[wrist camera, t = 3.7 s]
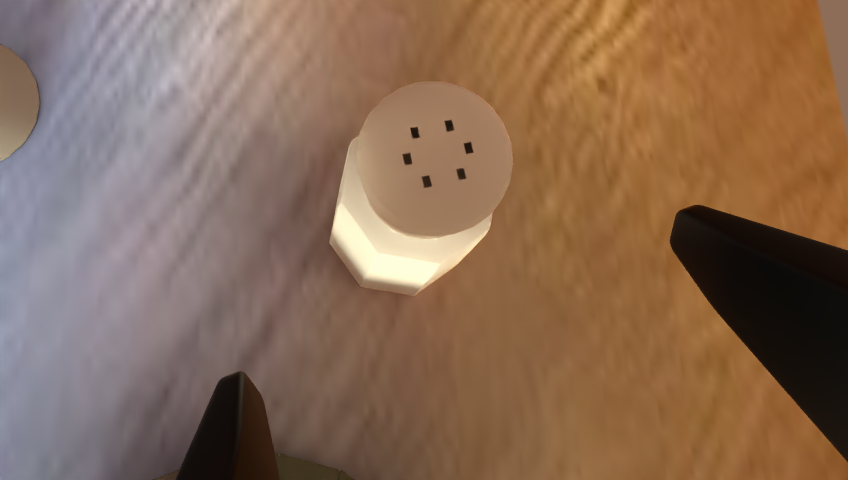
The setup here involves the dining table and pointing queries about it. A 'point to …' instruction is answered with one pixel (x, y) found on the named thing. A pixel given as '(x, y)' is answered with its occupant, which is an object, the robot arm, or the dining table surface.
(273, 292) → the dining table surface
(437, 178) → the pepper shaker
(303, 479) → the bowl
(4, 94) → the chalice
